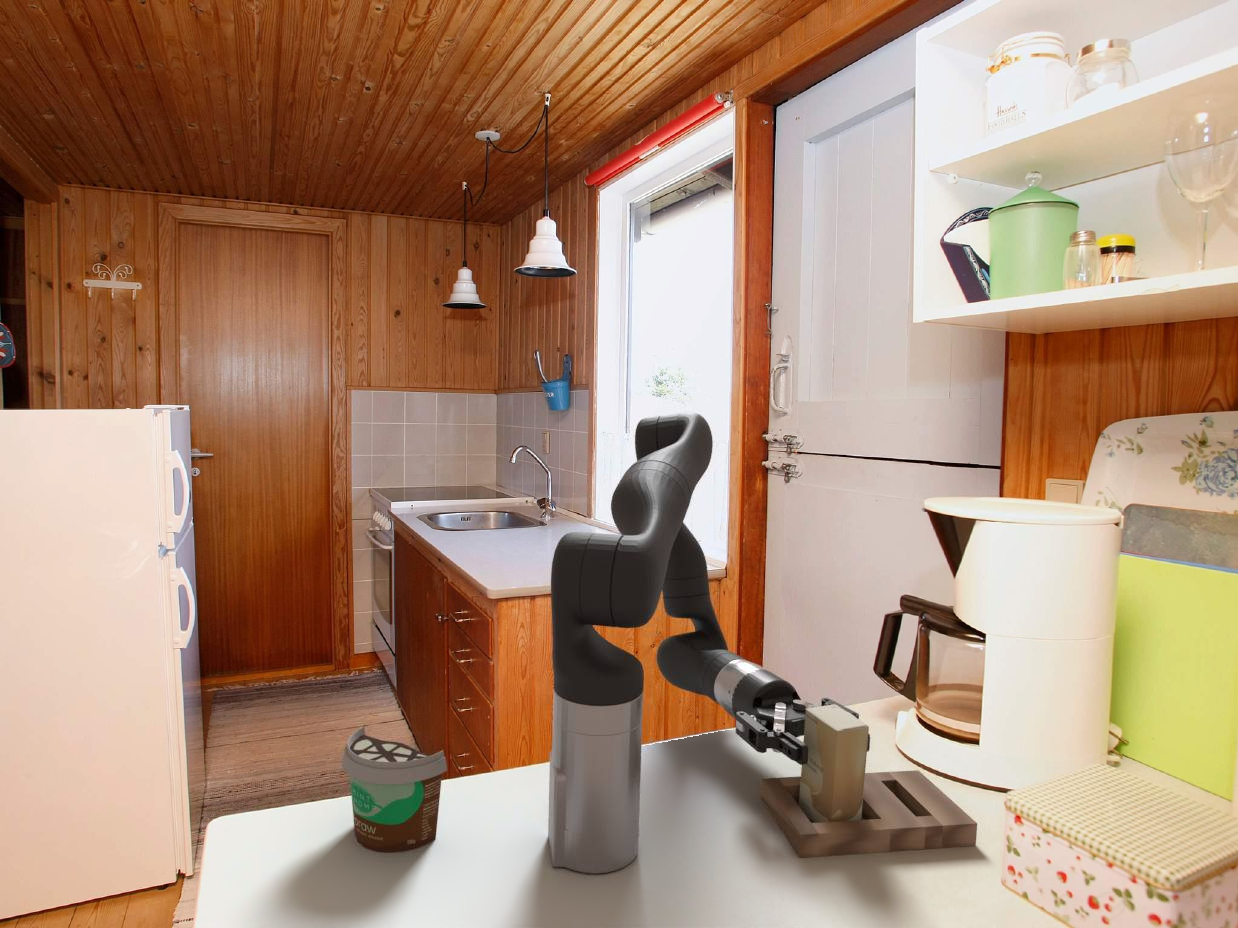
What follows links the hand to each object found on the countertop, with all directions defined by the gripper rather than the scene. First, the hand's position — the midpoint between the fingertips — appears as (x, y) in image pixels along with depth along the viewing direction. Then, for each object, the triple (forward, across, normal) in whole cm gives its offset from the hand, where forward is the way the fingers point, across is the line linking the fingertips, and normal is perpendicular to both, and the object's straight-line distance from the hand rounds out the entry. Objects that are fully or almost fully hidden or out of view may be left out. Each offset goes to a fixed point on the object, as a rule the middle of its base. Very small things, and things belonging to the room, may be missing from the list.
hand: (837, 749), depth 88 cm
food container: (-15, -47, +9) cm, 50 cm away
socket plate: (0, +4, +9) cm, 10 cm away
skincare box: (-1, 0, +9) cm, 9 cm away
